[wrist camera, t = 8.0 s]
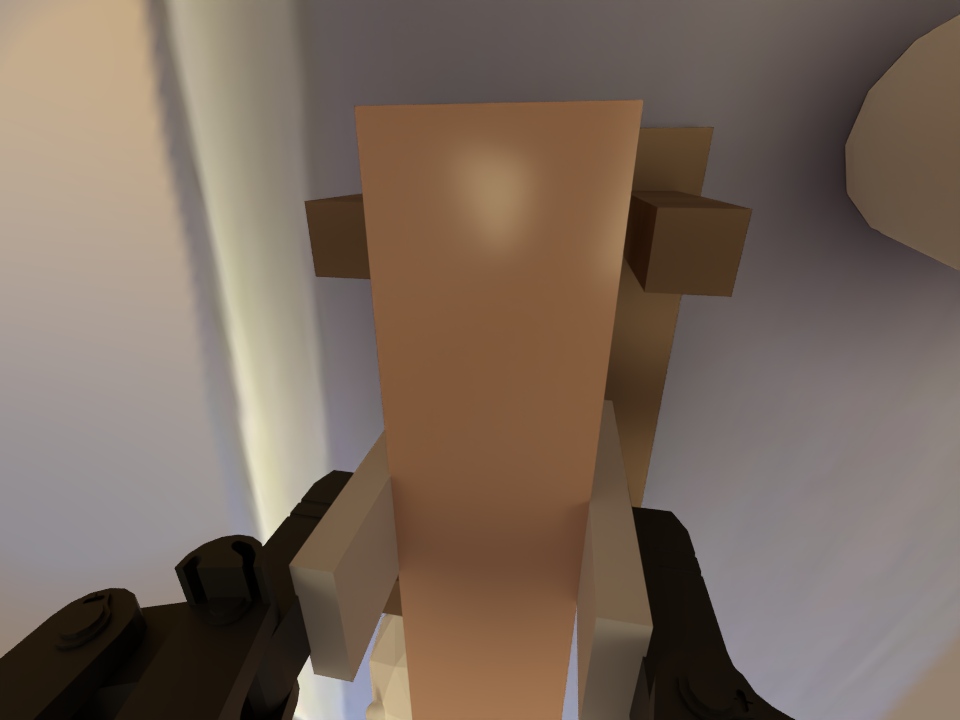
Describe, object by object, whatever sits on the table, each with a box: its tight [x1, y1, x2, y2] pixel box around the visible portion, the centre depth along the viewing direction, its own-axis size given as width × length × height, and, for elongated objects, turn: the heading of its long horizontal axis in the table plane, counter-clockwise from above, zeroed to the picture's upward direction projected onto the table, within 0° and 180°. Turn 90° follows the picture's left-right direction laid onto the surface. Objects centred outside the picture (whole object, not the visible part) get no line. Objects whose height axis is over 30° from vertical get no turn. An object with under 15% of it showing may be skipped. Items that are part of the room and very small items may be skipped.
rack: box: [305, 127, 752, 617], centre depth 14 cm, size 16×10×8 cm, turn 179°
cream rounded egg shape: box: [366, 614, 412, 720], centre depth 21 cm, size 7×7×8 cm
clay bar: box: [354, 100, 643, 720], centre depth 11 cm, size 16×4×5 cm, turn 179°
